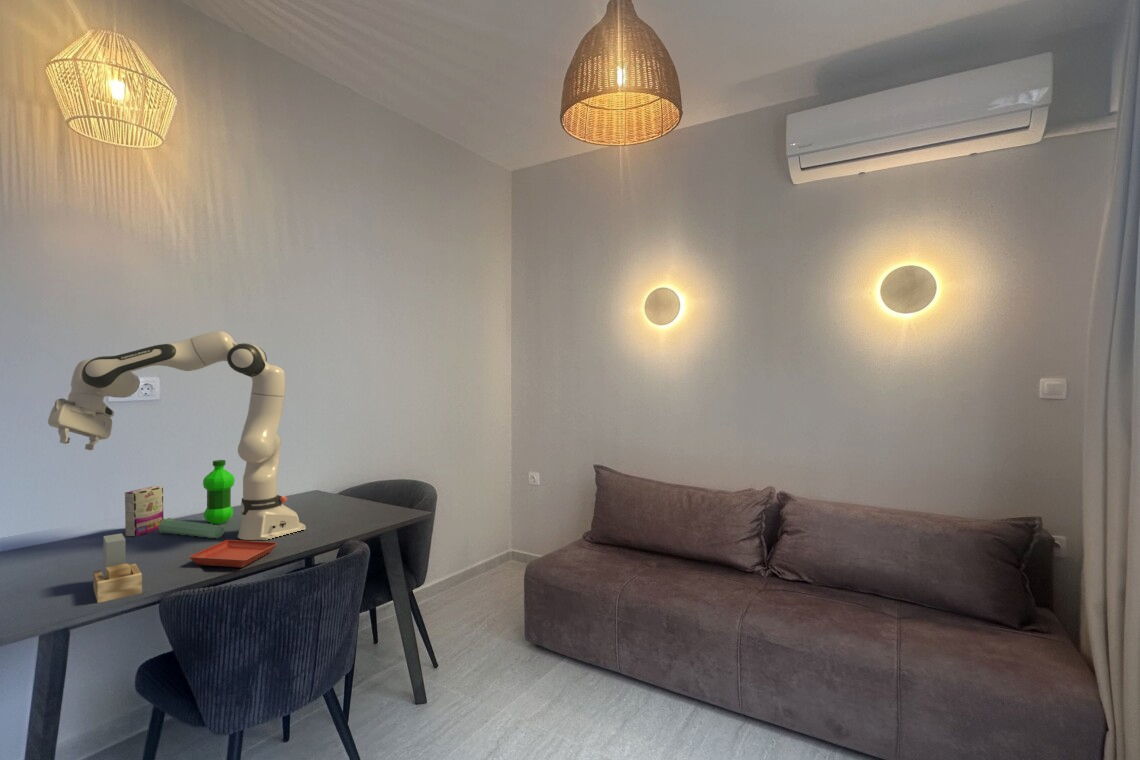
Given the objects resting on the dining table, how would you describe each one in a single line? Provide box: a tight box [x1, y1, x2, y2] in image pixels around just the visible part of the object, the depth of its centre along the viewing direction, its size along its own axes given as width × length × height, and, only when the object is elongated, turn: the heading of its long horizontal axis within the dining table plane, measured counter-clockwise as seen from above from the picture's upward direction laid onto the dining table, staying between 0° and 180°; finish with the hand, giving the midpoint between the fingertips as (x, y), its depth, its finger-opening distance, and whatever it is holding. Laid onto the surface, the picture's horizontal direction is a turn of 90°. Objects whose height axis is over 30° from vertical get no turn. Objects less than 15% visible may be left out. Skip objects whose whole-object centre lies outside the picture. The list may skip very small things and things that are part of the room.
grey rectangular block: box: [102, 533, 127, 580], centre depth 150 cm, size 4×8×14 cm, turn 46°
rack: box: [93, 563, 143, 604], centre depth 145 cm, size 9×12×6 cm
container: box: [158, 517, 225, 539], centre depth 197 cm, size 6×6×25 cm
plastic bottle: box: [202, 459, 235, 525], centre depth 213 cm, size 10×10×25 cm
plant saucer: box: [188, 539, 278, 568], centre depth 172 cm, size 18×18×3 cm
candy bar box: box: [124, 485, 164, 538], centre depth 200 cm, size 11×5×16 cm, turn 168°
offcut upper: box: [106, 563, 131, 580], centre depth 144 cm, size 4×4×3 cm
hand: (77, 446), depth 173 cm, fingers open, 8 cm apart
